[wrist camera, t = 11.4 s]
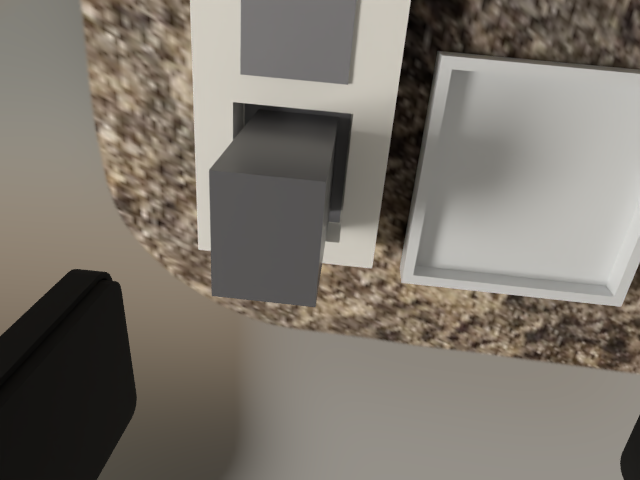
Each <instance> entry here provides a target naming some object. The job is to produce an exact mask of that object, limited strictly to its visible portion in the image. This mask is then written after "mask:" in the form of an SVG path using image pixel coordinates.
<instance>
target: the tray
mask: <svg viewBox="0 0 640 480" xmlns="http://www.w3.org/2000/svg"><path fill="white" fill-rule="evenodd" d="M639 263H640V70H639V69H628V68H618V67H607V66H596V65H585V64H575V63H564V62H553V61H542V60H532V59H521V58H510V57H500V56H489V55H478V54H467V53H457V52H446V51H437V56H436V62H435V68H434V73H433V79H432V85H431V91H430V97H429V102H428V108H427V114H426V120H425V125H424V131H423V137H422V143H421V148H420V154H419V160H418V166H417V171H416V177H415V183H414V189H413V194H412V200H411V206H410V212H409V218H408V223H407V229H406V235H405V241H404V246H403V252H402V258H401V264H400V274H401V282H402V283H409V284H418V285H427V286H436V287H445V288H455V289H464V290H473V291H482V292H491V293H500V294H510V295H519V296H528V297H537V298H546V299H556V300H565V301H574V302H583V303H592V304H602V305H611V306H620V307H621V306H622V303H623V301H624V299H625V296H626V294H627V291H628V289H629V287H630V284H631V282H632V280H633V277H634V275H635V272H636V270H637V268H638V265H639Z"/></svg>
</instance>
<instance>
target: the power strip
mask: <svg viewBox="0 0 640 480" xmlns="http://www.w3.org/2000/svg"><path fill="white" fill-rule="evenodd" d="M410 2H411V0H190V13H191V43H192V73H193V103H194V133H195V163H196V193H197V223H198V250H207V251H211V236H210V194H209V169H210V168H211V167H212V166H213V165H214V163H215V162H216V161H217V160H218V158H219V157H220V156H221V155H222V153H223V152H224V151H225V150H226V149H227V147H228V146H229V145H230V144H231V142H232V141H233V140H234V139H235V137H236V136H237V135H238V134H239V133H240V131H241V130H242V129H243V128H244V126H245V125H246V124H247V123H248V122H249V120H250V119H251V118H252V117H253V115H254V114H255V113H256V112H257V110H258V109H261V110H272V111H282V112H293V113H303V114H313V115H324V116H334V117H339V121H338V132H337V142H336V153H335V164H334V175H333V185H332V196H331V207H330V215H329V221H328V228H327V235H326V241H325V248H324V254H323V261H322V263H327V264H336V265H345V266H355V267H364V268H372V265H373V258H374V251H375V244H376V237H377V230H378V223H379V216H380V209H381V203H382V196H383V189H384V182H385V175H386V168H387V161H388V154H389V147H390V140H391V134H392V127H393V120H394V113H395V106H396V99H397V92H398V85H399V78H400V71H401V65H402V58H403V51H404V44H405V37H406V30H407V23H408V16H409V9H410Z"/></svg>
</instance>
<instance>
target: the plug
mask: <svg viewBox="0 0 640 480" xmlns="http://www.w3.org/2000/svg"><path fill="white" fill-rule="evenodd" d="M338 121H339V117H334V116H324V115H313V114H303V113H293V112H282V111H272V110H261V109H258V110H257V112H256V113H255V114H254V115H253V117H252V118H251V119H250V120H249V122H248V123H247V124H246V125H245V126H244V128H243V129H242V130H241V131H240V133H239V134H238V135H237V136H236V137H235V139H234V140H233V141H232V142H231V144H230V145H229V146H228V147H227V149H226V150H225V151H224V152H223V153H222V155H221V156H220V157H219V158H218V160H217V161H216V162H215V163H214V165H213V166H212V167H211V168H210V169H209V194H210V236H211V279H212V296H218V297H228V298H237V299H246V300H255V301H264V302H273V303H283V304H292V305H301V306H310V307H316V300H317V293H318V287H319V280H320V274H321V267H322V261H323V254H324V248H325V241H326V235H327V228H328V221H329V215H330V207H331V196H332V185H333V175H334V164H335V153H336V142H337V132H338Z"/></svg>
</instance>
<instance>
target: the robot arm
mask: <svg viewBox="0 0 640 480" xmlns="http://www.w3.org/2000/svg"><path fill="white" fill-rule="evenodd" d="M136 398H137V397H136V389H135V382H134V375H133V368H132V361H131V354H130V347H129V340H128V333H127V326H126V319H125V312H124V305H123V298H122V291H121V286H120V284H119V283H118V282H116V281H112V278H111V276H110V274H108V273H107V272H99V271H90V270H81V269H74V270H71V271H70V272H68V273H67V274H66V275H65V276H64V277H63V278H62V279H61V280H60V281H59V282H58V283H57V284H55V286H53V287H52V288H51V289H50V290H49V291H48V292H47V293H46V294H45V295H44V296H43V297H42V298H41V299H39V300H38V301H37V302H36V303H35V304H34V305H33V306H32V307H31V308H30V309H29V310H28V311H27V312H26V313H25V314H24V315H22V316H21V318H19V319H18V320H17V321H16V322H15V323H14V324H13V325H12V326H11V327H10V328H9V329H8V330H7V331H6V332H4V333H3V334H2V335H1V336H0V480H97V478H98V476H99V475H100V473H101V471H102V469H103V468H104V466H105V464H106V462H107V461H108V459H109V457H110V455H111V454H112V452H113V450H114V448H115V446H116V445H117V443H118V441H119V439H120V438H121V436H122V434H123V432H124V431H125V429H126V427H127V425H128V424H129V422H130V420H131V418H132V416H133V414H134V411H135V407H136ZM620 462H621V463H620V464H621V472H622V476H623V478H624V480H640V416H639V418H638V420H637V422H636V424H635V426H634V429H633V431H632V433H631V435H630V437H629V440H628V442H627V444H626V446H625V448H624V451H623V452H622V456H621V461H620Z"/></svg>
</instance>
